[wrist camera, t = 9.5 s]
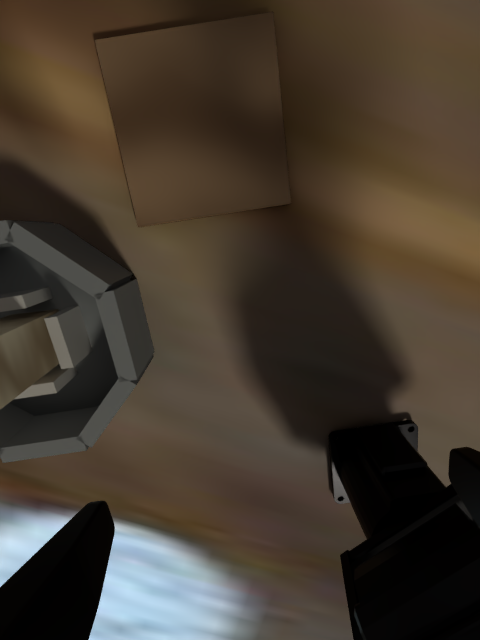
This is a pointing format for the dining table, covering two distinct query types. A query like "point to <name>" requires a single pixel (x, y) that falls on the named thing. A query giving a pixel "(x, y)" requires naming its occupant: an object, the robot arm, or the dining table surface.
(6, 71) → the dining table surface
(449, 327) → the dining table surface
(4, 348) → the square wooden post
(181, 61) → the coaster
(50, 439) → the bowl
